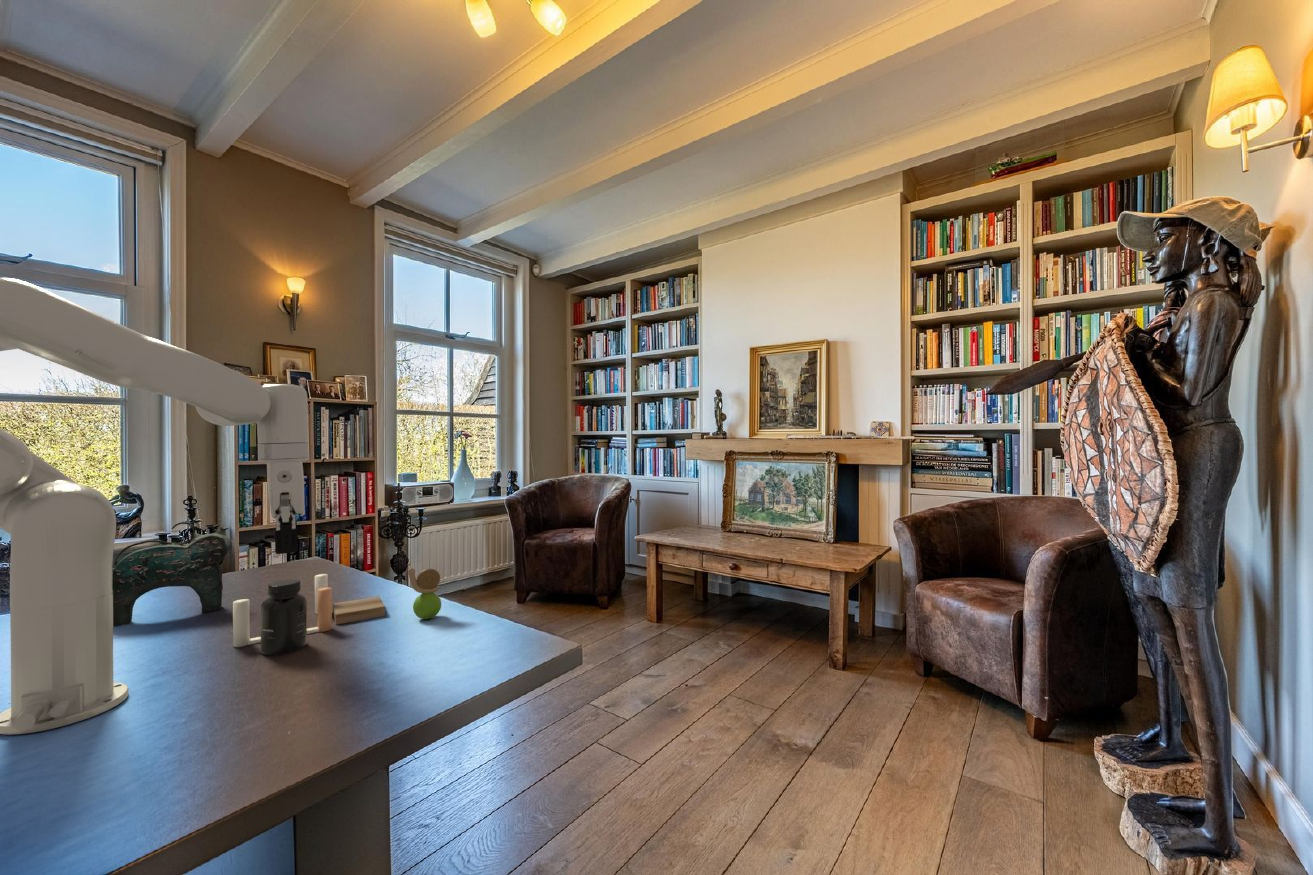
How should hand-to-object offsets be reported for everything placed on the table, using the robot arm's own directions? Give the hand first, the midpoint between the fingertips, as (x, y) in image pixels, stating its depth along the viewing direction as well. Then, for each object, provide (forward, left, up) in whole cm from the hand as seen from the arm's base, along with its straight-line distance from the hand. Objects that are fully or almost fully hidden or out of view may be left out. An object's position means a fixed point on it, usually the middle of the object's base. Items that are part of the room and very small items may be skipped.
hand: (286, 547), depth 96 cm
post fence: (+13, 0, -18) cm, 22 cm away
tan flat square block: (+13, -13, -18) cm, 26 cm away
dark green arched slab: (+36, +20, -18) cm, 45 cm away
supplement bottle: (0, 0, -18) cm, 18 cm away
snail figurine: (+2, -24, -18) cm, 30 cm away
